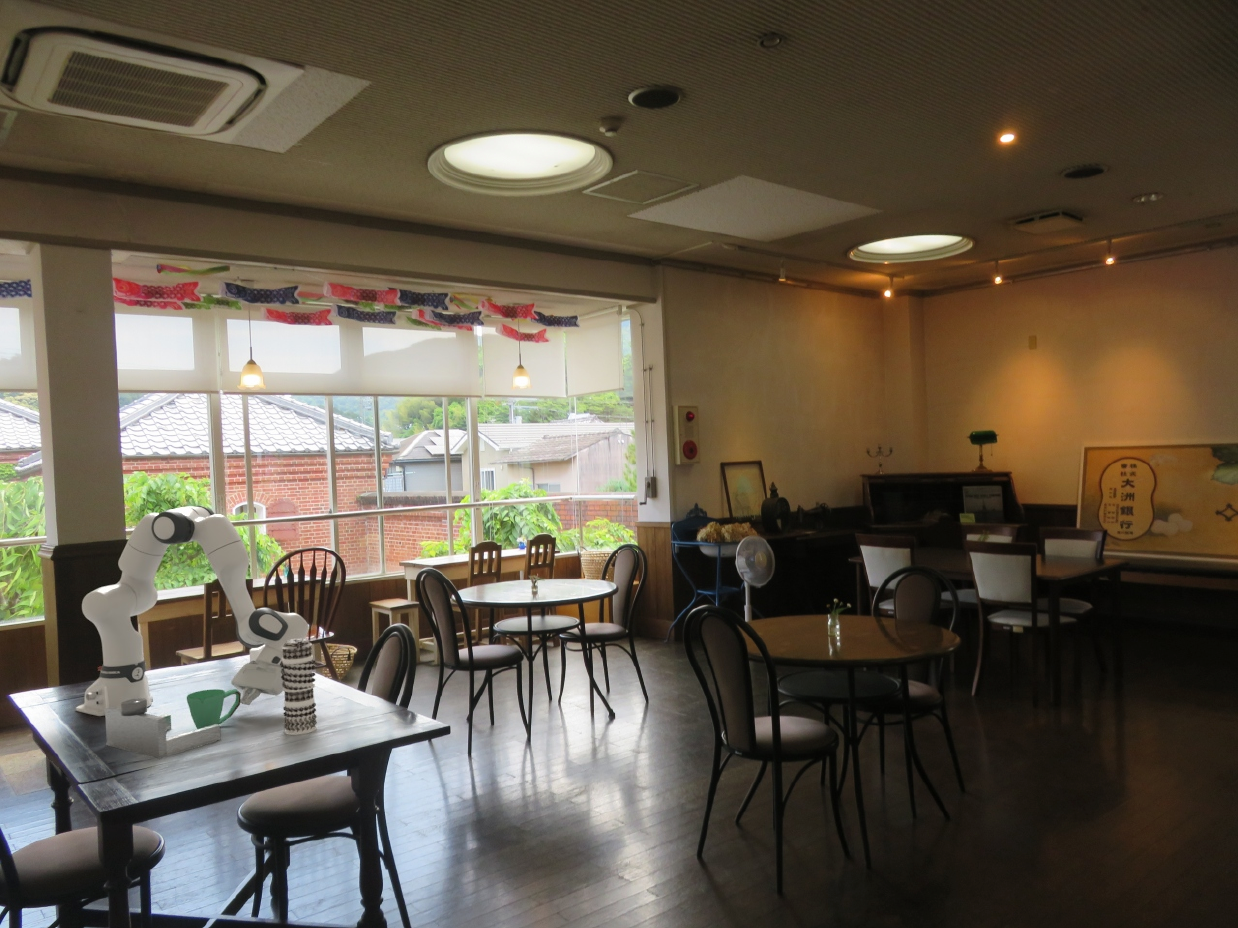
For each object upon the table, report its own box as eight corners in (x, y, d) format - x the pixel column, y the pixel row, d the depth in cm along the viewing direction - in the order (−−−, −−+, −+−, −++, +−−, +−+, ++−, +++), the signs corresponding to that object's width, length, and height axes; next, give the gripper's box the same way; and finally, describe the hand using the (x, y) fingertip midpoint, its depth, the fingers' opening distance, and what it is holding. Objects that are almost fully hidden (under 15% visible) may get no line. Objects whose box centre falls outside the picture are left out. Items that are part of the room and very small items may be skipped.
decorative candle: (303, 736, 244) (299, 644, 244) (275, 733, 247) (271, 642, 247) (325, 726, 253) (321, 637, 252) (298, 724, 256) (294, 636, 256)
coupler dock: (167, 727, 257) (165, 682, 257) (220, 739, 244) (218, 691, 244) (99, 747, 241) (96, 698, 241) (151, 761, 228) (149, 709, 228)
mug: (196, 736, 248) (195, 700, 248) (182, 730, 255) (180, 694, 254) (249, 723, 259) (247, 688, 259) (233, 717, 265) (232, 683, 265)
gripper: (243, 654, 276) (215, 693, 268) (286, 660, 265) (258, 701, 257) (256, 665, 280) (229, 705, 272) (299, 672, 269) (272, 713, 261)
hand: (244, 703), depth 264 cm, fingers closed
